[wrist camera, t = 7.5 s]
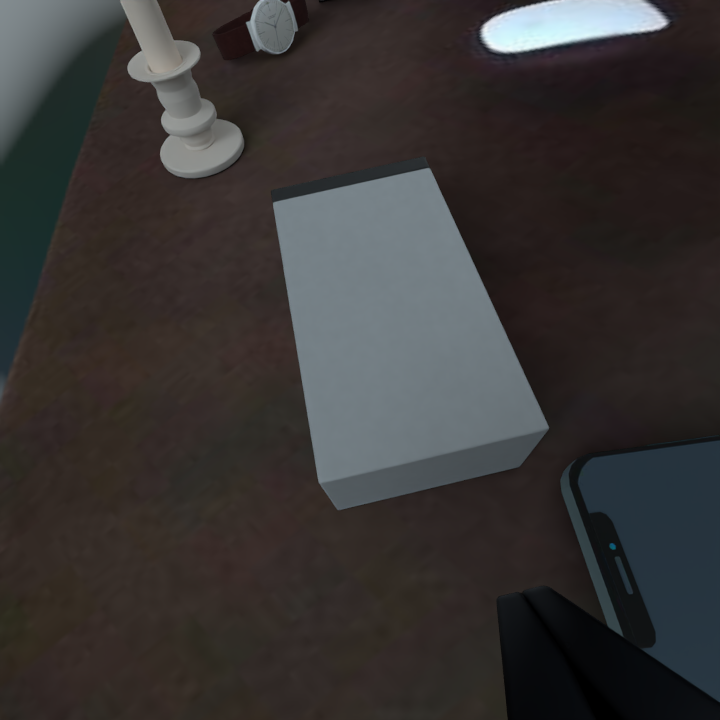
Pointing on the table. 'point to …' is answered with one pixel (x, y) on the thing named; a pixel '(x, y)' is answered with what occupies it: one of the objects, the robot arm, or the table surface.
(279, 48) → the watch
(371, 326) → the box with lid
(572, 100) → the table surface
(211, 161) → the candle
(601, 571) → the smartphone
